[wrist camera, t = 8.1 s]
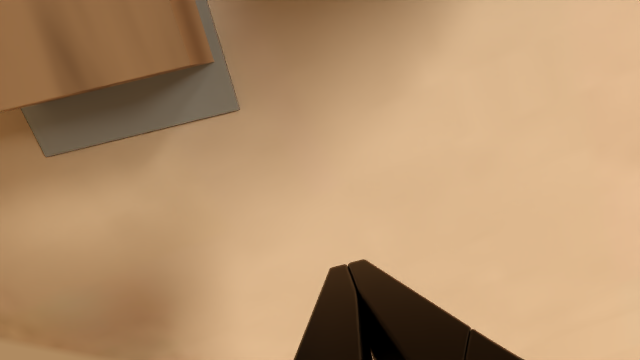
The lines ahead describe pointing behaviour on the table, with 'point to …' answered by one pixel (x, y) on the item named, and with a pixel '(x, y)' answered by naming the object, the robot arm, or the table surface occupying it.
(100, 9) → the walnut block
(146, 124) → the felt pad
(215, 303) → the table surface
